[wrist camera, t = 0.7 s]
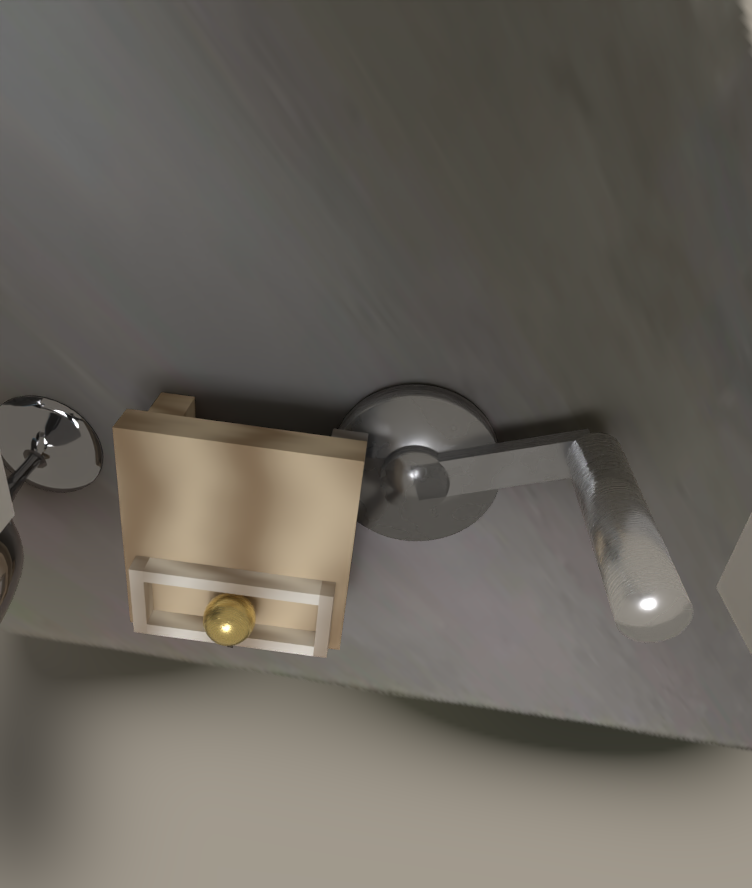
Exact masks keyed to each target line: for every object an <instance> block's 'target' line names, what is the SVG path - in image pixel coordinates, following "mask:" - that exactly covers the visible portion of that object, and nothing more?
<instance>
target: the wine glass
mask: <svg viewBox="0 0 752 888" xmlns="http://www.w3.org/2000/svg"><path fill="white" fill-rule="evenodd" d="M0 452H1V456H2V461H3V465H4V466H5V467H6V468H7V469H8V470H9V471H10V472H11V473H12V474H11V475H9V476H8V477H7V483H8V487H9V491H10V496H11V500H12V502H13V500H14V498H15V496H16V495H17V493H18V491H19V490H20V488H21V486H22V485H23V483H24V482H25V483H27V484H29V485H31V486H33V487H36V488H38V489H42V490H45V491H50V492H61V493H65V492H73V491H76V490H80V489H82V488H84V487H86V486H88V485H89V484H91V483H92V482H93V481H94V480H95V479H96V477H97V476H98V475H99V473H100V470H101V468H102V462H103V453H102V448H101V444H100V441H99V439H98V437H97V435H96V433H95V432H94V430H93V429H92V427H91V426H90V425H89V424H88V423H87V421H86V420H85V419H84V418H83V417H81V416H80V415H79V414H78V413H77V412H76V411H74V410H72V409H71V408H69V407H68V406H66V405H64V404H62V403H60V402H58V401H55V400H52V399H49V398H45V397H39V396H22V397H16V398H13V399H10V400H8V401H6V402H5V403H3V404H2V405H1V406H0ZM23 563H24V553H23V546H22V541H21V538H20V535H19V533H18V530H17V528H16V526H15V524H14V521H13V519H11V520H10V522H9V523H8V524H7V525H6V527H5V528H4V529H3V530H2V532H1V533H0V623H1V622H2V620H3V618H4V616H5V614H6V612H7V610H8V608H9V606H10V604H11V602H12V600H13V597H14V595H15V592H16V589H17V586H18V583H19V581H20V578H21V575H22V569H23Z"/></svg>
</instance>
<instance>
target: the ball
mask: <svg viewBox="0 0 752 888" xmlns="http://www.w3.org/2000/svg"><path fill="white" fill-rule="evenodd" d="M255 622H256V614H255V609H254V607H253V605H252V603H251V602H250V601H249V600H248V599H247V598H246V597H245V596H243V595H237V594H229V593H223V594H220V595H218V596H216V597H215V598H213V599H212V600H211V601H210V602H209V604H208V605H207V607H206V609H205V611H204V614H203V627H204V630H205V632H206V634H207V636H208V637H209V638H210V639H211V640H212V641H213V642H215V643H217V644H219V645H223V646H233V645H237V644H239V643H241V642H243V641H244V640H246V639H247V638H248V637H249V635H250V634H251V633H252V631H253V629H254V626H255Z"/></svg>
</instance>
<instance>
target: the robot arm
mask: <svg viewBox="0 0 752 888" xmlns="http://www.w3.org/2000/svg"><path fill="white" fill-rule="evenodd" d="M14 515H15V513H14V509H13V505H12V500H11V496H10V491H9V487H8V483H7V478H6V474H5V470H4V465H3V461H2V456H1V452H0V533H1V532H2V530H3V529H4V528H5V527H6V525H7V524H8V523H9V522H10V520H11V519H12V518H13V517H14ZM716 588H717V590H718V592H719V594H720V596H721V598H722V600H723V602H724V603H725V605H726V607H727V609H728V611H729V613H730V615H731V617H732V619H733V621H734V623H735V625H736V626H737V628H738V630H739V632H740V634H741V636H742V638H743V640H744V642H745V644H746V646H747V648H748V649H749V651H750V653H751V655H752V513H751V515H750V517H749V519H748V521H747V523H746V525H745V527H744V530H743V532H742V534H741V536H740V538H739V540H738V542H737V544H736V547H735V549H734V551H733V553H732V555H731V557H730V559H729V561H728V563H727V566H726V568H725V570H724V572H723V574H722V576H721V578H720V580H719V582H718V585H717V587H716Z"/></svg>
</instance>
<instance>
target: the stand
mask: <svg viewBox="0 0 752 888" xmlns="http://www.w3.org/2000/svg"><path fill="white" fill-rule="evenodd" d="M112 428H113V439H114V450H115V460H116V471H117V482H118V493H119V504H120V514H121V525H122V536H123V547H124V558H125V568H126V579H127V590H128V601H129V612H130V622H133V624H134V632H138V633H145V634H152V635H160V636H167V637H175V638H182V639H190V640H197V641H204V642H212V643H215V642H213V641H212V640H211V639H210V638H209V637H208V636H207V634H206V632H205V630H204V627H203V614H204V611H205V609H206V607H207V605H208V604H209V602H210V601H211V600H212V599H213V598H215V597H216V596H218V595H220V594H223V593H229V594H237V595H243V596H245V597H246V598H247V599H248V600H249V601H250V602H251V603H252V605H253V607H254V609H255V614H256V622H255V626H254V629H253V631H252V633H251V634H250V635H249V637H248V638H247V639H246V640H244V641H243V642H241V643H239V644H237V645H234V646H242V647H249V648H257V649H264V650H271V651H279V652H286V653H294V654H301V655H309V656H316V657H324V658H326V657H327V651H328V648H330V649H338V650H339V649H340V642H341V635H342V628H343V620H344V613H345V605H346V598H347V590H348V583H349V575H350V568H351V560H352V553H353V545H354V538H355V530H356V522H357V515H358V507H359V500H360V492H361V485H362V477H363V471H364V464H365V456H366V449H367V441H368V434H369V433H362V432H355V431H347V430H340V429H333V432H332V436H331V437H330V436H323V435H316V434H308V433H301V432H294V431H286V430H279V429H272V428H265V427H257V426H250V425H243V424H235V423H228V422H221V421H213V420H206V419H199V418H195V397H192V396H185V395H177V394H170V393H163V392H161V393H160V395H159V396H158V398H157V399H156V400H155V402H154V403H153V405H152V406H151V407H150V409H149V410H148V412H147V411H140V410H133V409H126V410H125V412H124V413H123V414H122V416H121V417H120V418H119V420H118V421H117V422H116V423H115V425H114V426H113V427H112ZM227 647H231V648H233V646H227Z"/></svg>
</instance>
